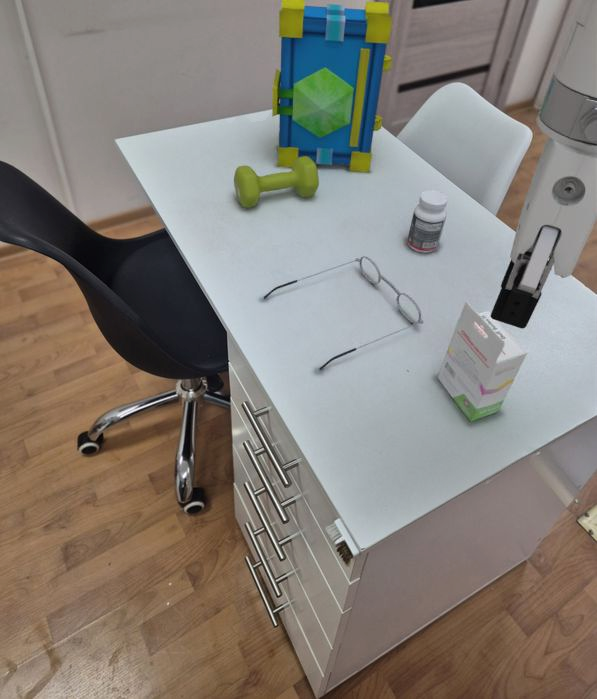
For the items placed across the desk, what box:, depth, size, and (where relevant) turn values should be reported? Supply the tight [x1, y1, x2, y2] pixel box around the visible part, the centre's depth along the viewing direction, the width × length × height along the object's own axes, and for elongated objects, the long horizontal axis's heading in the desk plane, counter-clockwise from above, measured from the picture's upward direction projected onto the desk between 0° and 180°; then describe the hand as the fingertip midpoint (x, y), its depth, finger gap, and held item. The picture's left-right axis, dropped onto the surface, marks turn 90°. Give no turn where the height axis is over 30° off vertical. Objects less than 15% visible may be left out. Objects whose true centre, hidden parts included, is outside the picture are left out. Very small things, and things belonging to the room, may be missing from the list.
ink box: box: [437, 301, 528, 422], centre depth 71 cm, size 9×5×15 cm, turn 22°
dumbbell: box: [233, 156, 320, 209], centre depth 108 cm, size 16×8×7 cm, turn 112°
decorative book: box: [271, 0, 393, 173], centre depth 112 cm, size 14×23×30 cm, turn 88°
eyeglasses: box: [263, 255, 424, 371], centre depth 86 cm, size 18×19×4 cm
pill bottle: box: [407, 189, 448, 254], centre depth 98 cm, size 6×6×10 cm
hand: (512, 304), depth 51 cm, fingers open, 4 cm apart
